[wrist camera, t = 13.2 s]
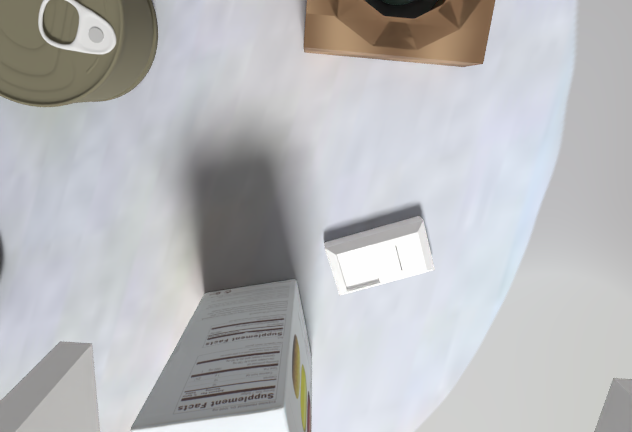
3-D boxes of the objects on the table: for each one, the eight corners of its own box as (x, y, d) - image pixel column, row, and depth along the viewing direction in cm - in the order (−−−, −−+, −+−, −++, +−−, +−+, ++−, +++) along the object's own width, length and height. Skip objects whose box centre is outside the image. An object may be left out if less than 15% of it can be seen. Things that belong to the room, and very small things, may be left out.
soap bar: (429, 261, 39) (437, 273, 36) (338, 286, 39) (340, 299, 37) (418, 214, 37) (425, 223, 35) (324, 240, 38) (325, 251, 35)
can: (19, -90, 30) (-64, -141, 23) (177, -25, 31) (142, -56, 25) (-4, 72, 33) (-82, 67, 27) (141, 125, 34) (101, 133, 28)
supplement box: (313, 359, 41) (315, 531, 25) (225, 373, 42) (170, 550, 26) (296, 275, 39) (285, 407, 22) (202, 290, 39) (124, 430, 23)
